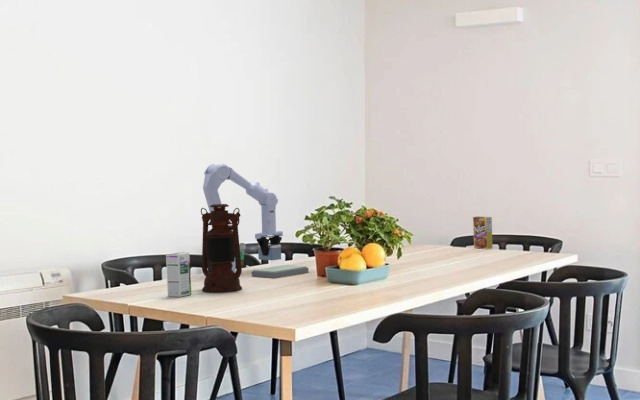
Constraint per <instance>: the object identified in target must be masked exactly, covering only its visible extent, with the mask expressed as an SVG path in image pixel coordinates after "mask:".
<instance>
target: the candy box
mask: <svg viewBox="0 0 640 400" xmlns="http://www.w3.org/2000/svg"><path fill="white" fill-rule="evenodd" d="M472 221H473V223H472V225H473V248H474V249H485V250H491V249H493V222H492V221H493V217H491V216H472Z"/></svg>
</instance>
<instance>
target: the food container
mask: <svg viewBox="0 0 640 400" xmlns="http://www.w3.org/2000/svg"><path fill="white" fill-rule="evenodd" d="M239 246H240V256H241V267H242V269H243V268H244V266H245V265H244V263H245V250H246V249H247V246H246V244H245V243H243V242H239ZM235 270H236V262H235Z"/></svg>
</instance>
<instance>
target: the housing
mask: <svg viewBox="0 0 640 400" xmlns="http://www.w3.org/2000/svg"><path fill="white" fill-rule="evenodd" d="M257 247H258V248H257V249H258V250H257V251H258V252H257V253H258V260H260V261H262V260H263V261H278V260H282V245H281V244H271V243H268V254H267V256H263V255H262V251H261V248H260V246H259V244H257Z"/></svg>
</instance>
